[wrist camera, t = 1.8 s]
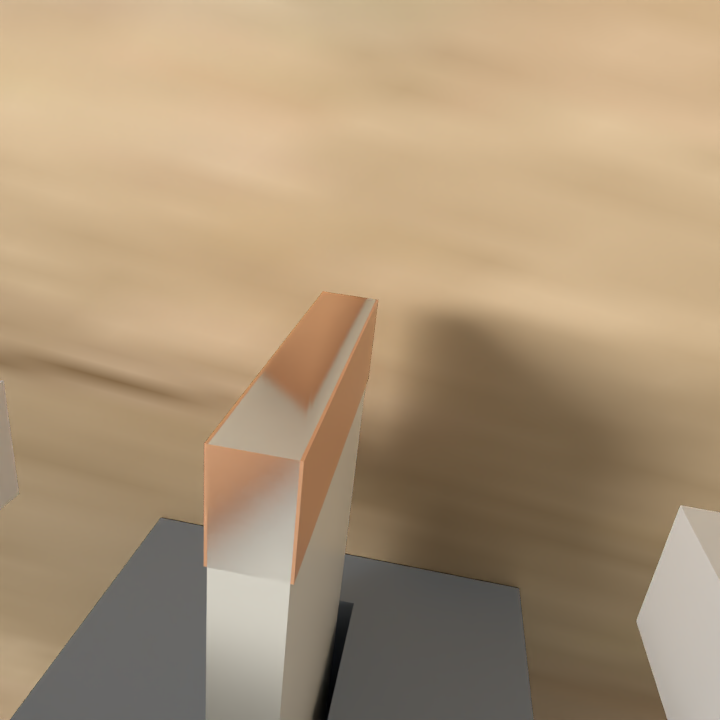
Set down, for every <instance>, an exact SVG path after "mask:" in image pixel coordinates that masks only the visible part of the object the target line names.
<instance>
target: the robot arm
mask: <svg viewBox="0 0 720 720" xmlns="http://www.w3.org/2000/svg"><path fill="white" fill-rule="evenodd" d="M18 494H19V487H18V480H17V473H16V465H15V458H14V451H13V444H12V437H11V429H10V422H9V415H8V408H7V400H6V393H5V386H4V381H2V380H0V510H1V509H2V508H3V507H4V506H5V505H7V504H8V503H9V502H10V501H11V500H13V499H14V498H15V497H16V496H17V495H18ZM636 622H637V625H638V629H639V632H640V635H641V638H642V641H643V644H644V647H645V651H646V654H647V657H648V660H649V663H650V666H651V670H652V673H653V676H654V679H655V682H656V685H657V689H658V692H659V695H660V698H661V701H662V704H663V708H664V711H665V714H666V717H667V720H720V512H715V511H710V510H705V509H699V508H694V507H688V506H683V505H680V507H679V510H678V513H677V515H676V518H675V520H674V523H673V526H672V528H671V531H670V534H669V536H668V539H667V541H666V544H665V547H664V549H663V552H662V554H661V557H660V560H659V562H658V565H657V568H656V570H655V573H654V575H653V578H652V581H651V583H650V586H649V589H648V591H647V594H646V596H645V599H644V602H643V604H642V607H641V609H640V612H639V615H638V617H637V620H636Z"/></svg>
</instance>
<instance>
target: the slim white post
mask: <svg viewBox="0 0 720 720" xmlns="http://www.w3.org/2000/svg"><path fill="white" fill-rule="evenodd" d="M377 306H378V300H376V299H369V298H362V297H356V296H349V295H343V294H336V293H329V292H322V293H321V295H320V296H319V297H318V298H317V300H316V301H315V302H314V303H313V305H312V306H311V307H310V309H309V310H308V311H307V312H306V314H305V315H304V316H303V318H302V319H301V320H300V321H299V323H298V324H297V325H296V327H295V328H294V329H293V330H292V332H291V333H290V334H289V335H288V337H287V338H286V339H285V341H284V342H283V343H282V344H281V346H280V347H279V348H278V350H277V351H276V352H275V353H274V355H273V356H272V357H271V358H270V360H269V361H268V362H267V364H266V365H265V366H264V367H263V369H262V370H261V371H260V373H259V374H258V375H257V376H256V378H255V379H254V380H253V382H252V383H251V384H250V385H249V387H248V388H247V389H246V390H245V392H244V393H243V394H242V396H241V397H240V398H239V399H238V401H237V402H236V403H235V405H234V406H233V407H232V408H231V410H230V411H229V412H228V414H227V415H226V416H225V417H224V419H223V420H222V421H221V422H220V424H219V425H218V426H217V428H216V429H215V430H214V431H213V433H212V434H211V435H210V437H209V438H208V439H207V440H206V442H205V443H204V566H205V567H207V618H206V720H325V714H326V706H327V698H328V690H329V682H330V673H331V665H332V657H333V649H334V641H335V632H336V624H337V616H338V608H339V600H340V591H341V583H342V575H343V567H344V559H345V550H346V542H347V534H348V526H349V518H350V509H351V501H352V493H353V485H354V477H355V468H356V460H357V452H358V444H359V436H360V427H361V419H362V411H363V403H364V395H365V387H366V384H367V381H368V379H369V371H370V363H371V354H372V346H373V338H374V330H375V322H376V314H377Z"/></svg>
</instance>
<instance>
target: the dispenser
mask: <svg viewBox="0 0 720 720" xmlns="http://www.w3.org/2000/svg"><path fill="white" fill-rule="evenodd" d="M206 618H207V567H205V566H204V526H200V525H195V524H190V523H185V522H180V521H175V520H170V519H165V518H160V519H159V521H158V522H157V523H156V525H155V526H154V527H153V529H152V530H151V531H150V533H149V534H148V535H147V537H146V538H145V539H144V541H143V542H142V543H141V545H140V546H139V547H138V549H137V550H136V551H135V553H134V554H133V556H132V557H131V558H130V560H129V561H128V562H127V564H126V565H125V566H124V568H123V569H122V570H121V572H120V573H119V574H118V576H117V577H116V578H115V580H114V581H113V582H112V584H111V585H110V586H109V588H108V589H107V590H106V592H105V593H104V594H103V596H102V597H101V598H100V600H99V601H98V602H97V604H96V605H95V606H94V608H93V609H92V610H91V612H90V613H89V615H88V616H87V617H86V619H85V620H84V621H83V623H82V624H81V625H80V627H79V628H78V629H77V631H76V632H75V633H74V635H73V636H72V637H71V639H70V640H69V641H68V643H67V644H66V645H65V647H64V648H63V649H62V651H61V652H60V653H59V655H58V656H57V657H56V659H55V660H54V661H53V663H52V664H51V665H50V667H49V668H48V669H47V671H46V672H45V673H44V675H43V676H42V678H41V679H40V680H39V682H38V683H37V684H36V686H35V687H34V688H33V690H32V691H31V692H30V694H29V695H28V696H27V698H26V699H25V700H24V702H23V703H22V704H21V706H20V707H19V708H18V710H17V711H16V712H15V714H14V715H13V716H12V718H11V719H10V720H206ZM325 720H534V719H533V710H532V701H531V692H530V682H529V673H528V664H527V655H526V646H525V637H524V627H523V618H522V609H521V600H520V591H519V588H515V587H510V586H505V585H500V584H494V583H489V582H484V581H479V580H474V579H469V578H464V577H459V576H454V575H449V574H444V573H439V572H434V571H428V570H423V569H418V568H413V567H408V566H403V565H398V564H393V563H388V562H383V561H378V560H373V559H368V558H363V557H357V556H352V555H347V554H345V559H344V567H343V575H342V583H341V591H340V600H339V608H338V616H337V624H336V632H335V641H334V649H333V657H332V665H331V673H330V682H329V690H328V698H327V706H326V714H325Z"/></svg>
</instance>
